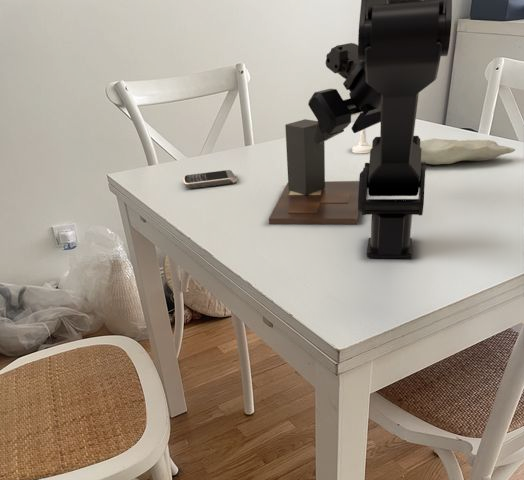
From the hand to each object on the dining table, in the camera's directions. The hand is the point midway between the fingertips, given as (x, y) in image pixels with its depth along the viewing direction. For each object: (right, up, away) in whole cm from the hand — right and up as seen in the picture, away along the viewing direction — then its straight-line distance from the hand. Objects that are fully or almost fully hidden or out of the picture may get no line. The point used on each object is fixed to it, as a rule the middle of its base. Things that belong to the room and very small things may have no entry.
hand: (334, 136), depth 93 cm
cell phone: (-24, -1, +23) cm, 33 cm away
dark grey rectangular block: (-4, -6, +11) cm, 13 cm away
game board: (-2, -10, +7) cm, 12 cm away
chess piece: (+11, +10, +35) cm, 38 cm away
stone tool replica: (+27, +3, +22) cm, 35 cm away
